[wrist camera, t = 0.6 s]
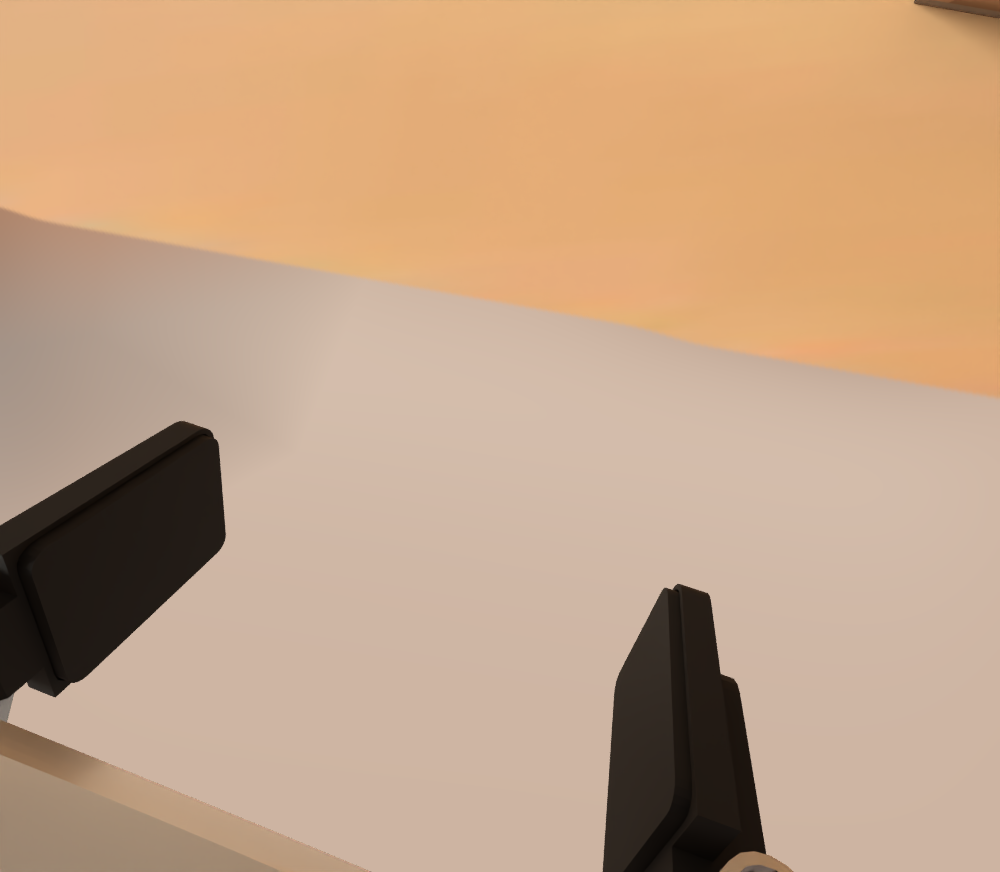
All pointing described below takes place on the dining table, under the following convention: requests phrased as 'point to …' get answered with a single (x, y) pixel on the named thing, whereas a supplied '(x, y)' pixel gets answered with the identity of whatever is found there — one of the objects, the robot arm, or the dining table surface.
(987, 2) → the bore box
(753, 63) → the dining table surface
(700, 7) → the dining table surface
